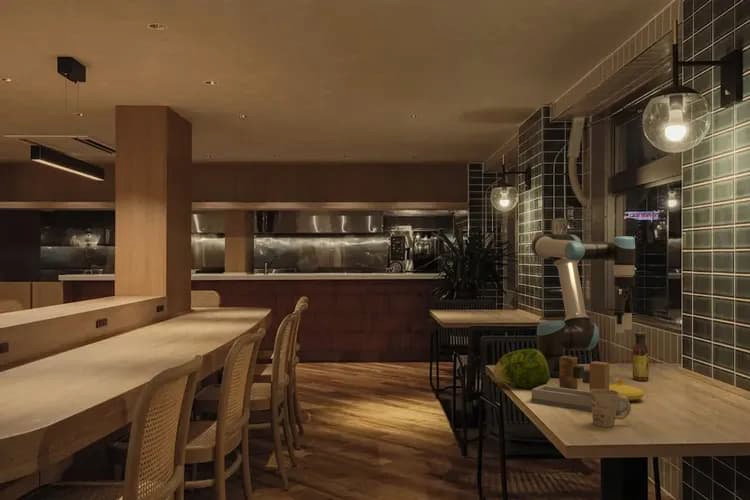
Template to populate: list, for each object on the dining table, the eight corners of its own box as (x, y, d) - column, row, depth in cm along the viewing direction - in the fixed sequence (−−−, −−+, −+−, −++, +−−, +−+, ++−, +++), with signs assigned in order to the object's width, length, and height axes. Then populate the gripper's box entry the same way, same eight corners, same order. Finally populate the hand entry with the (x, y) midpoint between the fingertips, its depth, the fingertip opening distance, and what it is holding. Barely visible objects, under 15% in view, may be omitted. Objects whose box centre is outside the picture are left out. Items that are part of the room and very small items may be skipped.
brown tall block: (559, 395, 235) (559, 357, 235) (564, 393, 239) (564, 355, 239) (579, 398, 231) (579, 359, 231) (584, 396, 235) (584, 357, 235)
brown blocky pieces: (531, 402, 223) (531, 357, 224) (542, 397, 231) (542, 354, 232) (619, 415, 205) (619, 367, 206) (628, 410, 213) (628, 363, 214)
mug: (584, 421, 198) (584, 388, 198) (623, 420, 199) (623, 388, 199) (596, 428, 190) (596, 394, 190) (636, 427, 191) (637, 394, 191)
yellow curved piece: (622, 406, 220) (622, 385, 220) (588, 397, 234) (588, 377, 234) (654, 401, 227) (654, 381, 227) (618, 393, 241) (618, 374, 241)
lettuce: (499, 388, 260) (487, 353, 259) (549, 373, 257) (538, 339, 256) (502, 403, 244) (490, 366, 243) (556, 387, 242) (544, 350, 240)
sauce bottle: (650, 382, 263) (650, 333, 264) (634, 381, 265) (634, 333, 265) (646, 379, 270) (647, 332, 270) (631, 378, 271) (631, 331, 271)
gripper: (627, 277, 234) (626, 334, 234) (641, 275, 255) (640, 328, 255) (606, 276, 239) (605, 333, 238) (621, 275, 259) (621, 327, 259)
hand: (623, 331), depth 247 cm, fingers open, 13 cm apart
